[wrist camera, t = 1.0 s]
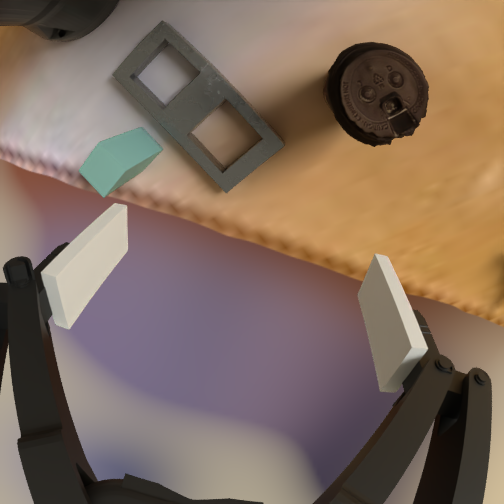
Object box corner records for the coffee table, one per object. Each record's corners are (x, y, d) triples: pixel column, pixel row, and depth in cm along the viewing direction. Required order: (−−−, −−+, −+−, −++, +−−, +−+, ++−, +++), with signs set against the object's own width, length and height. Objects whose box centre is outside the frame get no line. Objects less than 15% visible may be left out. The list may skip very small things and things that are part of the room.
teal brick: (122, 149, 36) (78, 170, 28) (141, 126, 35) (98, 142, 26) (143, 170, 37) (103, 198, 29) (163, 149, 36) (125, 170, 27)
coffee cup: (381, 135, 32) (425, 161, 21) (310, 123, 33) (323, 141, 22) (390, 64, 28) (440, 55, 17) (318, 49, 29) (335, 27, 17)
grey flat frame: (120, 74, 31) (112, 75, 30) (168, 23, 28) (162, 20, 26) (229, 188, 38) (226, 193, 36) (284, 142, 34) (284, 145, 32)
